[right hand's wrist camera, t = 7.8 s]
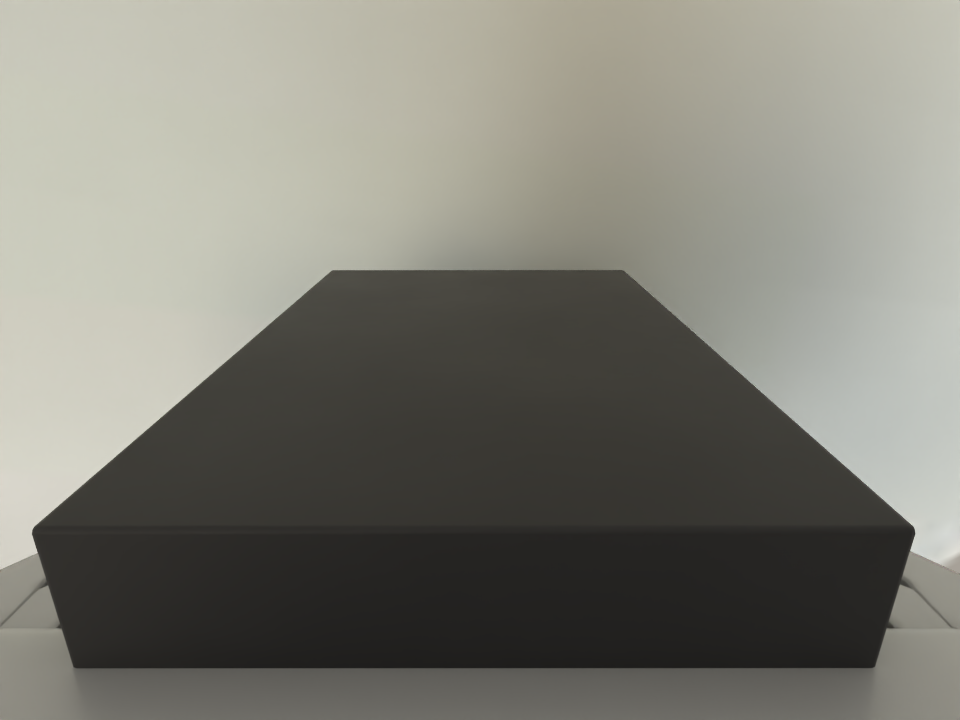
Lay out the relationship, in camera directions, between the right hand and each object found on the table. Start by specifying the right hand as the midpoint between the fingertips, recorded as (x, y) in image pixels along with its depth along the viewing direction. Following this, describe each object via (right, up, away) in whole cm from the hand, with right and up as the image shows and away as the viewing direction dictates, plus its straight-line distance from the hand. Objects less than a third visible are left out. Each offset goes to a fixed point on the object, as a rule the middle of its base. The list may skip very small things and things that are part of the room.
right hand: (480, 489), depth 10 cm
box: (0, -6, +6) cm, 9 cm away
